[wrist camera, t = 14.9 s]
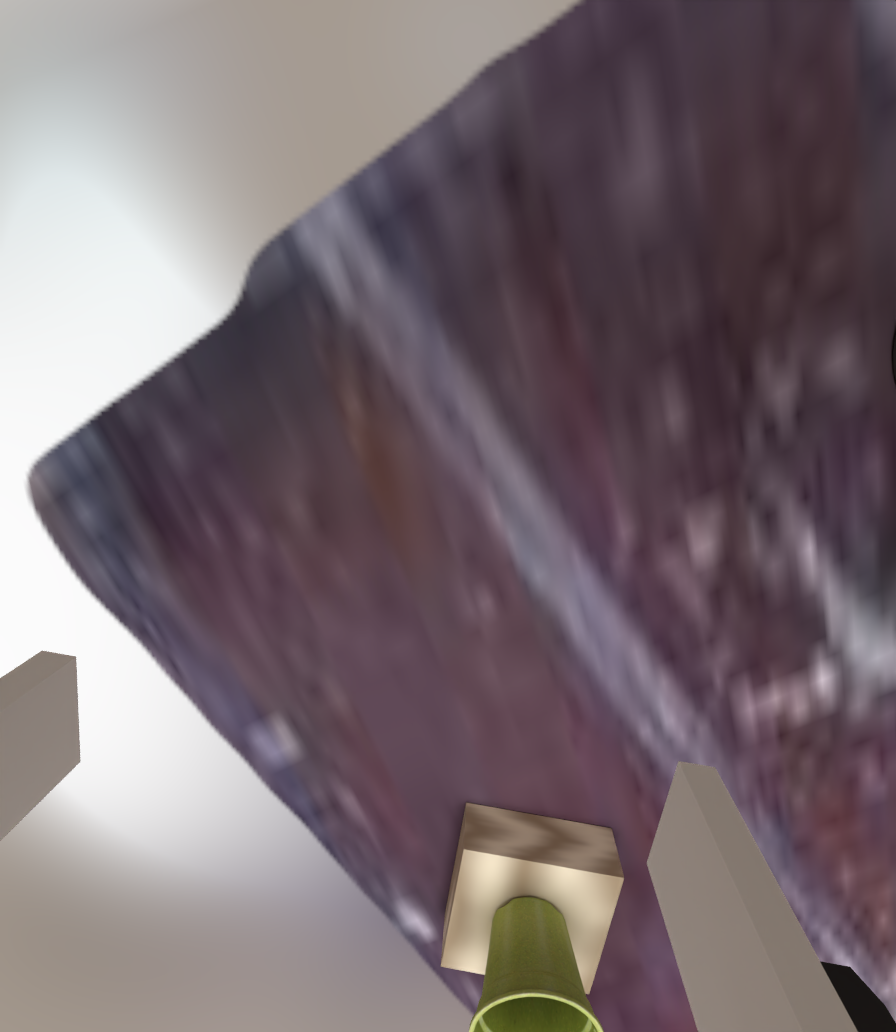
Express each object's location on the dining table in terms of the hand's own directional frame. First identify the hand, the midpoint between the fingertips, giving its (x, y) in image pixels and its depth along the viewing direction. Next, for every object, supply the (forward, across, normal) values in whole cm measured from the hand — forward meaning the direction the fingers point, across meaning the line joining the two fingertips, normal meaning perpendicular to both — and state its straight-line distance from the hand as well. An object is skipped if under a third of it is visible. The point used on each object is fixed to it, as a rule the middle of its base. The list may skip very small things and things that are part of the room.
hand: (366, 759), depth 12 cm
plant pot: (+27, +12, -36) cm, 47 cm away
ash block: (+32, +12, -36) cm, 49 cm away
